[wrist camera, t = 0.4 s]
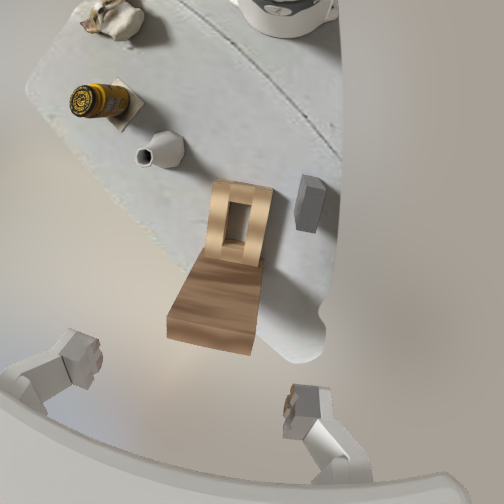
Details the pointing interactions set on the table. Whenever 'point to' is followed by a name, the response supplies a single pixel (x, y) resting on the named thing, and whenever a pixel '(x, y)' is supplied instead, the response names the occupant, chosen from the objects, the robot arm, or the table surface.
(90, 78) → the table surface
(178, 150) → the flask
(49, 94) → the table surface
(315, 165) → the table surface
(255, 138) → the table surface
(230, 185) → the tan slotted wooden fixture
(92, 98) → the condiment
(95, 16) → the ceramic sculpture
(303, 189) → the brushed steel bar
